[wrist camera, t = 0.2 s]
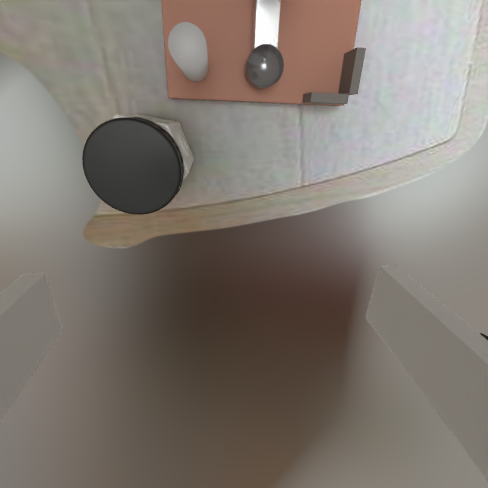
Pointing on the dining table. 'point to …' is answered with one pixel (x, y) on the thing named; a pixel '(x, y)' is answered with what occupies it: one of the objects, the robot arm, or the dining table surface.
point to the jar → (137, 162)
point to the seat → (240, 47)
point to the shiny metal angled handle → (264, 46)
